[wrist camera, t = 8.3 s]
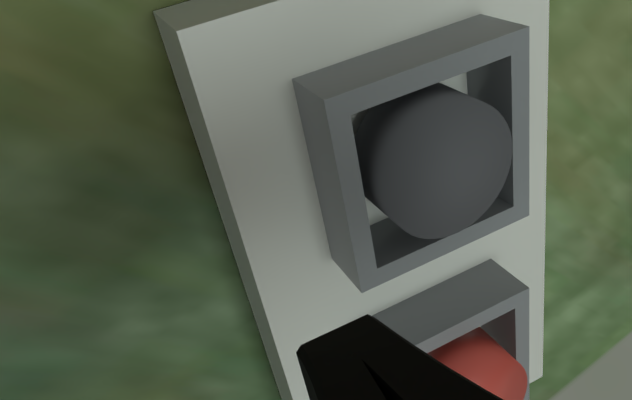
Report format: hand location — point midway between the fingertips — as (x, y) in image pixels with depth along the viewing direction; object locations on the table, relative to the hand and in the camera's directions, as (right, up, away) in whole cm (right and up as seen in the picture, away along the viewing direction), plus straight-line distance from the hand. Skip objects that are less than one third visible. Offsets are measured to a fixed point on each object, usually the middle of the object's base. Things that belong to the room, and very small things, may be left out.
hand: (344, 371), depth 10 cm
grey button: (+2, +4, +7) cm, 9 cm away
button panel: (+2, +2, +13) cm, 13 cm away
